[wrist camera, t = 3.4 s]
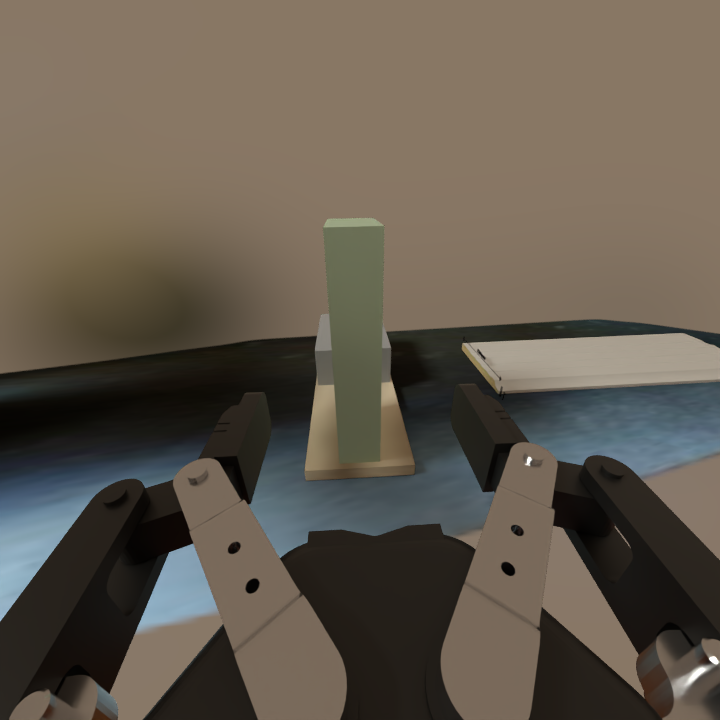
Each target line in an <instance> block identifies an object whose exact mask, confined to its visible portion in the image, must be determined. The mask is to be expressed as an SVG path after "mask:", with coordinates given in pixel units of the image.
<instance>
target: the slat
mask: <svg viewBox="0 0 720 720" xmlns="http://www.w3.org/2000/svg"><path fill="white" fill-rule="evenodd" d="M323 233H324V247H325V262H326V276H327V291H328V304H329V320H330V334H331V349H332V363H333V378H334V392H335V406H336V421H337V435H338V450H339V464H345V463H363V462H380V442H381V385H382V328H383V271H384V267H383V266H384V225H382V224H381V223H379V222H378V221H377V220H375V219H374V218H353V219H352V218H349V219H328V220H327V221H326V223H325V225H324V227H323Z"/></svg>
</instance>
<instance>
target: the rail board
mask: <svg viewBox="0 0 720 720" xmlns="http://www.w3.org/2000/svg"><path fill="white" fill-rule="evenodd" d="M414 472H415V462H414V459H413V455H412V452H411V448H410V444H409V441H408V437H407V433H406V430H405V426H404V422H403V419H402V415H401V412H400V408H399V404H398V401H397V397H396V393H395V390H394V386H393V383H392V379H391V375H390V382H384V383H382V385H381V442H380V462H363V463H345V464H339V450H338V435H337V421H336V406H335V392H334V385H318V379H317V380H316V388H315V395H314V403H313V410H312V418H311V426H310V433H309V441H308V448H307V456H306V464H305V478H306V481H311V480H329V479H346V478H364V477H381V476H399V475H414Z"/></svg>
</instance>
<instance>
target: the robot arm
mask: <svg viewBox="0 0 720 720" xmlns="http://www.w3.org/2000/svg"><path fill="white" fill-rule="evenodd" d="M451 424H452V427H453V430H454V432H455V434H456V436H457V438H458V440H459V442H460V445H461V447H462V449H463V451H464V453H465V455H466V457H467V459H468V461H469V464H470V466H471V468H472V470H473V472H474V474H475V476H476V478H477V480H478V483H479V485H480V487H481V489H482V491H483V492H493V491H494V492H495V496H494V499H493V502H492V504H491V507H490V510H489V513H488V516H487V519H486V522H485V525H484V528H483V531H482V534H481V537H480V540H479V542H478V546H477V548H476V549H474V548H473V547H471V546H470V545H468V544H466V543H465V542H463V541H461V540H458V539H456V538H453V537H450V536H446V535H443V533H442V529H441V526H440V524H427V525H411V526H406V527H403V528H400V529H397V530H394V531H391V532H388V533H385V534H382V535H378V536H371V535H366V534H361V533H356V532H351V531H346V530H328V531H311V532H309V535H308V543H306V544H303V545H301V546H298V547H296V548H294V549H293V550H291V551H289V552H288V553H286V554H285V555H284V556H282V557H281V558H279V556H278V555H277V553H276V551H275V550H274V548H273V546H272V545H271V543H270V541H269V540H268V538H267V536H266V534H265V533H264V531H263V529H262V528H261V526H260V524H259V523H258V521H257V519H256V518H255V516H254V514H253V513H252V511H251V509H250V508H249V506H248V504H251V501H252V498H253V494H254V491H255V487H256V484H257V480H258V477H259V474H260V470H261V467H262V463H263V460H264V457H265V453H266V450H267V446H268V443H269V439H270V436H271V419H270V414H269V409H268V404H267V399H266V395H265V393H264V392H256V393H245V394H244V396H243V398H242V400H241V402H240V404H239V405H234V406H231V407H230V408H229V409H228V410H226V411H225V412H224V413H223V414H222V416H221V418H220V420H219V421H218V425H216V427H215V429H214V432H213V433H212V434H211V436H210V438H209V440H208V442H207V444H206V445H205V447H204V449H203V451H202V453H201V455H200V457H199V458H198V460H196V461H193V462H191V463H189V464H187V465H186V466H184V467H183V468H182V469H181V470H180V471H179V472H178V473H177V474H176V476H175V478H174V480H171V481H168V482H165V483H161V484H158V485H155V486H151V487H148V488H145V487H144V485H143V483H142V482H141V481H139V480H137V479H125V480H121V481H118V482H115V483H113V484H111V485H109V486H107V487H106V488H104V489H103V490H101V491H100V492H99V493H98V494H96V495H95V496H94V497H93V499H92V500H91V501H90V502H89V504H88V505H87V506H86V508H85V509H84V510H83V512H82V513H81V514H80V516H79V517H78V518H77V520H76V521H75V522H74V524H73V525H72V526H71V528H70V529H69V530H68V532H67V533H66V534H65V536H64V537H63V538H62V540H61V541H60V543H59V544H58V545H57V547H56V548H55V549H54V551H53V552H52V553H51V555H50V556H49V557H48V559H47V560H46V561H45V563H44V564H43V565H42V567H41V568H40V569H39V571H38V572H37V573H36V575H35V576H34V577H33V579H32V580H31V581H30V583H29V584H28V585H27V587H26V588H25V589H24V591H23V592H22V593H21V595H20V596H19V597H18V599H17V600H16V601H15V603H14V604H13V605H12V607H11V608H10V609H9V611H8V612H7V613H6V615H5V616H4V617H3V619H2V620H1V622H0V720H118V707H117V703H116V701H115V699H114V698H113V697H112V696H111V695H110V691H111V689H112V687H113V684H114V682H115V679H116V677H117V675H118V672H119V670H120V668H121V665H122V663H123V660H124V658H125V656H126V653H127V650H128V649H129V646H130V644H131V641H132V639H133V637H134V634H135V632H136V630H137V627H138V625H139V622H140V620H141V618H142V615H143V613H144V611H145V608H146V606H147V603H148V601H149V599H150V596H151V594H152V592H153V589H154V587H155V584H156V582H157V580H158V577H159V575H160V573H161V570H162V568H163V565H164V563H165V561H166V558H167V556H168V554H169V552H171V551H174V550H177V549H179V548H182V547H185V546H188V545H190V544H193V543H194V546H195V549H196V551H197V554H198V557H199V559H200V562H201V565H202V567H203V570H204V573H205V575H206V578H207V581H208V584H209V586H210V589H211V592H212V594H213V597H214V600H215V602H216V605H217V608H218V611H219V613H220V616H221V619H222V621H223V625H222V626H221V627H220V629H219V630H218V631H217V632H216V633H215V634H214V635H213V637H212V638H211V639H210V640H209V642H208V643H207V644H206V645H205V646H204V647H203V649H202V650H201V651H200V652H199V653H198V655H197V656H196V657H195V658H194V659H193V661H192V662H191V663H190V664H189V665H188V666H187V668H186V669H185V670H184V671H183V673H182V674H181V675H180V676H179V677H178V678H177V680H176V681H175V682H174V683H173V684H172V686H171V687H170V688H169V689H168V690H167V691H166V693H165V694H164V695H163V696H162V697H161V699H160V700H159V701H158V702H157V703H156V705H155V706H154V707H153V708H152V710H151V711H150V712H149V713H148V714H147V715H146V717H145V718H144V719H143V720H720V560H719V559H718V558H717V557H716V556H715V555H714V554H713V553H712V552H711V551H710V550H709V549H708V548H707V547H706V546H705V545H704V544H703V543H702V542H701V541H700V539H699V538H698V537H697V536H696V535H695V534H694V533H693V532H692V531H691V530H690V529H689V528H688V527H687V526H686V525H685V524H684V523H683V522H682V521H681V520H680V519H679V518H678V517H677V516H676V515H675V514H674V513H673V512H672V511H671V510H670V509H669V508H668V507H667V506H666V505H665V504H664V502H663V501H662V500H661V499H660V498H659V497H658V496H657V495H656V494H655V493H654V492H653V491H652V490H651V489H650V488H649V487H648V486H647V485H646V484H645V483H644V482H643V481H642V480H641V479H640V478H639V477H638V476H637V475H636V474H635V473H634V472H633V471H632V470H631V469H630V468H629V467H627V466H626V465H624V464H623V463H621V462H619V461H617V460H615V459H612V458H609V457H606V456H599V455H595V456H590V457H588V458H587V459H586V460H585V463H584V465H583V466H582V465H577V464H571V463H566V462H561V461H557V460H556V458H555V457H554V456H553V455H552V454H551V453H550V452H549V451H548V450H546V449H545V448H543V447H541V446H539V445H536V444H533V443H529V441H528V440H527V439H526V437H525V436H524V435H523V433H522V432H521V431H520V429H519V428H518V427H517V425H516V424H515V423H514V421H513V420H512V419H511V417H510V416H509V415H508V413H507V412H505V409H504V408H503V407H502V405H501V404H500V403H499V402H498V401H497V400H495V399H494V398H492V397H491V396H489V395H483V394H482V392H481V391H480V389H479V388H478V386H477V385H476V384H457V385H456V386H455V390H454V397H453V403H452V409H451ZM553 526H557V527H561V528H563V529H564V530H565V532H566V534H567V535H568V537H569V539H570V540H571V542H572V544H573V545H574V547H575V549H576V550H577V552H578V554H579V555H580V557H581V559H582V560H583V562H584V564H585V565H586V567H587V569H588V570H589V572H590V574H591V575H592V577H593V579H594V580H595V582H596V584H597V586H598V587H599V589H600V590H601V592H602V594H603V595H604V597H605V599H606V601H607V602H608V604H609V606H610V607H611V609H612V611H613V612H614V614H615V616H616V617H617V619H618V621H619V622H620V624H621V626H622V627H623V629H624V631H625V632H626V634H627V636H628V637H629V639H630V641H631V642H632V644H633V646H634V647H635V649H636V651H637V652H638V654H639V656H638V658H637V662H636V669H637V675H638V678H639V681H640V682H641V685H642V687H643V690H644V697H645V699H644V698H643V697H642V696H641V695H640V694H639V693H638V692H637V691H636V690H635V689H634V688H633V687H632V686H631V685H629V684H628V683H627V682H626V681H625V680H624V679H622V678H621V677H620V676H619V675H618V674H617V673H616V672H615V671H614V670H612V669H611V668H610V667H609V666H608V665H607V664H606V663H604V662H603V661H602V660H601V659H600V658H599V657H598V656H597V655H596V654H594V653H593V652H592V651H591V650H590V649H589V648H588V647H586V646H585V645H584V644H583V643H582V642H581V641H579V639H577V638H576V637H575V636H574V635H573V634H572V633H571V632H569V631H568V630H567V629H566V628H565V627H564V626H563V625H562V624H560V623H559V622H558V621H557V620H556V619H555V618H554V617H552V616H551V615H550V614H549V613H548V612H547V611H546V610H545V609H543V608H542V600H543V593H544V586H545V579H546V572H547V565H548V557H549V549H550V542H551V536H552V528H553ZM615 526H616V527H617V528H618V530H619V531H620V532H621V534H622V535H623V536H624V538H625V539H626V540H627V542H628V543H629V545H630V547H631V548H630V547H629V546H628V544H627V543H626V542H625V541H624V539H623V538H622V537H621V535H620V534H619V533H618V531H617V530H616V529H615Z"/></svg>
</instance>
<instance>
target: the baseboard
mask: <svg viewBox="0 0 720 720" xmlns="http://www.w3.org/2000/svg"><path fill="white" fill-rule="evenodd" d="M464 338H465V337H464ZM464 338H463V340H465V339H464ZM465 341H466V340H465ZM466 342H467V341H466ZM462 350H463V351H464V353H465V354H466V355H467V356H468V357H469V359H470V360H471V361H472V362H473V364H474V365H475V366H476V367H477V369H478V370H479V371H480V372H481V373H482V375H483V376H484V377H485V378H486V380H487V381H488V382H489V383H490V384H491V386H492V387H493V388H494V389H495V391H496V392H497V393H498V394H499V396H500V397H501V394H506V393H524V392H542V391H560V390H578V389H596V388H614V387H632V386H650V385H668V384H686V383H704V382H720V348H717V347H716V346H714V345H709V344H707V343H704V342H703V341H701V340H699V339H696V338H694V337H691V336H689V335H686V334H684V333H676V334H655V335H633V336H611V337H589V338H567V339H546V340H524V341H502V342H480V343H468V342H467V343H463V345H462ZM503 398H504V395H503ZM502 400H503V399H502Z"/></svg>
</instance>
